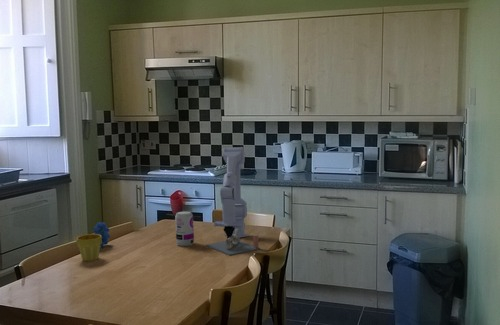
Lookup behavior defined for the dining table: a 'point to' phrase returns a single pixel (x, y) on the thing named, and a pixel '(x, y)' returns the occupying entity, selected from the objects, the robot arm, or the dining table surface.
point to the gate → (231, 241)
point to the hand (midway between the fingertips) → (229, 242)
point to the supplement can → (184, 228)
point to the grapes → (102, 232)
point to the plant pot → (89, 246)
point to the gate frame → (235, 246)
